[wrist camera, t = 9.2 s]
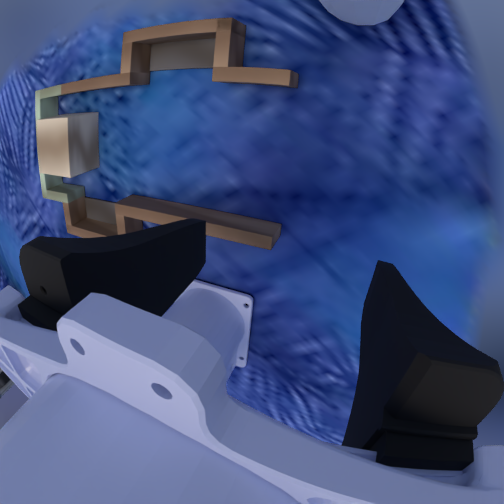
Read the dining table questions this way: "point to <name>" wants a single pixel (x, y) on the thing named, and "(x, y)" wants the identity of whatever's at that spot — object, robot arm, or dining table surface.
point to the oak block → (68, 144)
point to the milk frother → (4, 383)
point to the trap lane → (138, 73)
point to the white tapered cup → (362, 10)
